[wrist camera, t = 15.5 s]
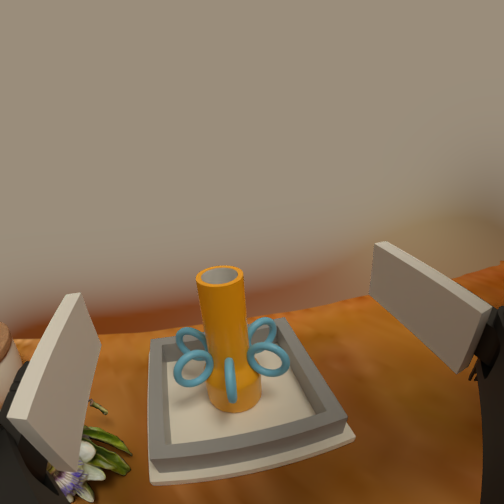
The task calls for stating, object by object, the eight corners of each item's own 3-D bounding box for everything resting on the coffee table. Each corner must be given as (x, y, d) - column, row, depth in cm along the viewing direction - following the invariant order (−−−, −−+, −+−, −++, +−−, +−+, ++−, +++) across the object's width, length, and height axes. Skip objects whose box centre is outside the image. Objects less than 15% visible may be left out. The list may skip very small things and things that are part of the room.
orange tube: (215, 451, 23) (181, 332, 17) (167, 390, 30) (133, 277, 25) (307, 392, 30) (316, 272, 24) (250, 350, 37) (241, 242, 32)
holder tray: (288, 334, 41) (288, 311, 40) (353, 441, 23) (362, 420, 22) (151, 357, 37) (144, 335, 36) (153, 485, 19) (138, 469, 18)
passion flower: (96, 513, 18) (-3, 487, 10) (85, 437, 26) (1, 400, 19) (156, 499, 17) (28, 472, 10) (135, 405, 26) (36, 357, 19)
